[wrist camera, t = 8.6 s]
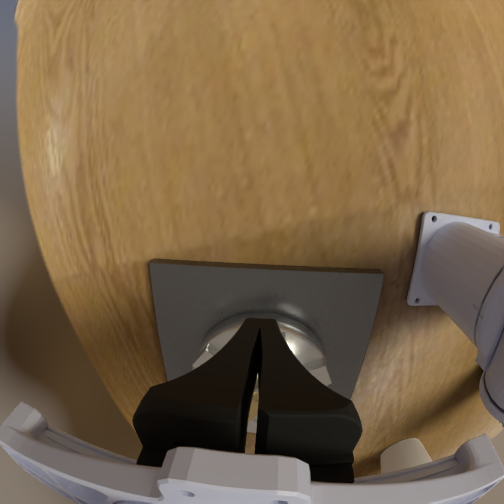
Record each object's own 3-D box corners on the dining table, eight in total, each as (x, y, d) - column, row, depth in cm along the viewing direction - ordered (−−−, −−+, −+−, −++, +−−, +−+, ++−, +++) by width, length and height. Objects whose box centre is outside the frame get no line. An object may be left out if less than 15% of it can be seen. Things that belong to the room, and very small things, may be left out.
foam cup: (435, 423, 26) (464, 494, 14) (422, 453, 29) (442, 514, 17) (372, 444, 28) (389, 524, 15) (367, 471, 30) (379, 537, 18)
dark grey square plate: (380, 269, 21) (384, 274, 20) (339, 419, 26) (340, 426, 25) (154, 258, 22) (148, 263, 21) (178, 409, 27) (175, 416, 26)
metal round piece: (248, 285, 21) (235, 346, 14) (350, 356, 22) (370, 420, 15) (159, 387, 25) (134, 441, 18) (247, 434, 26) (240, 489, 19)
